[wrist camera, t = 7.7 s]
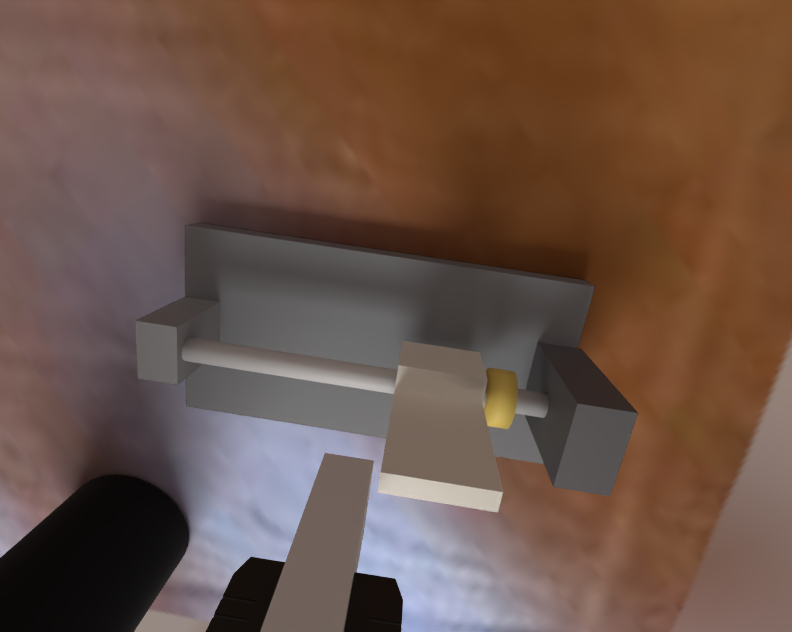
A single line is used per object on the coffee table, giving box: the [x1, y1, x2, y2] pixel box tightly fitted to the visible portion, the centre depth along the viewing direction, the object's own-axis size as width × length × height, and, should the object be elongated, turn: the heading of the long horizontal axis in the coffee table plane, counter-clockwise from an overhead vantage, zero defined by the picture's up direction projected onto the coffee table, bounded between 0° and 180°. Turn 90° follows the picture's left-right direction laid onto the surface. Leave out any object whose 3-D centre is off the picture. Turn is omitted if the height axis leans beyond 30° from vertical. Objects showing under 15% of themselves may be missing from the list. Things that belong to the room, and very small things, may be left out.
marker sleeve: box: [378, 341, 503, 512], centre depth 19 cm, size 4×3×9 cm
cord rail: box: [135, 223, 638, 496], centre depth 23 cm, size 22×11×8 cm, turn 82°
